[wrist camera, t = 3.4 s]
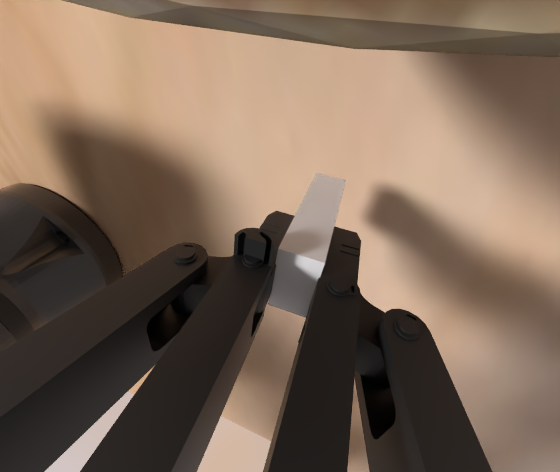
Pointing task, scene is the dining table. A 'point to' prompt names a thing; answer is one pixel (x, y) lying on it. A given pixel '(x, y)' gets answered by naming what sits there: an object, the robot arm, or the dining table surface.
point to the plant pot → (370, 22)
